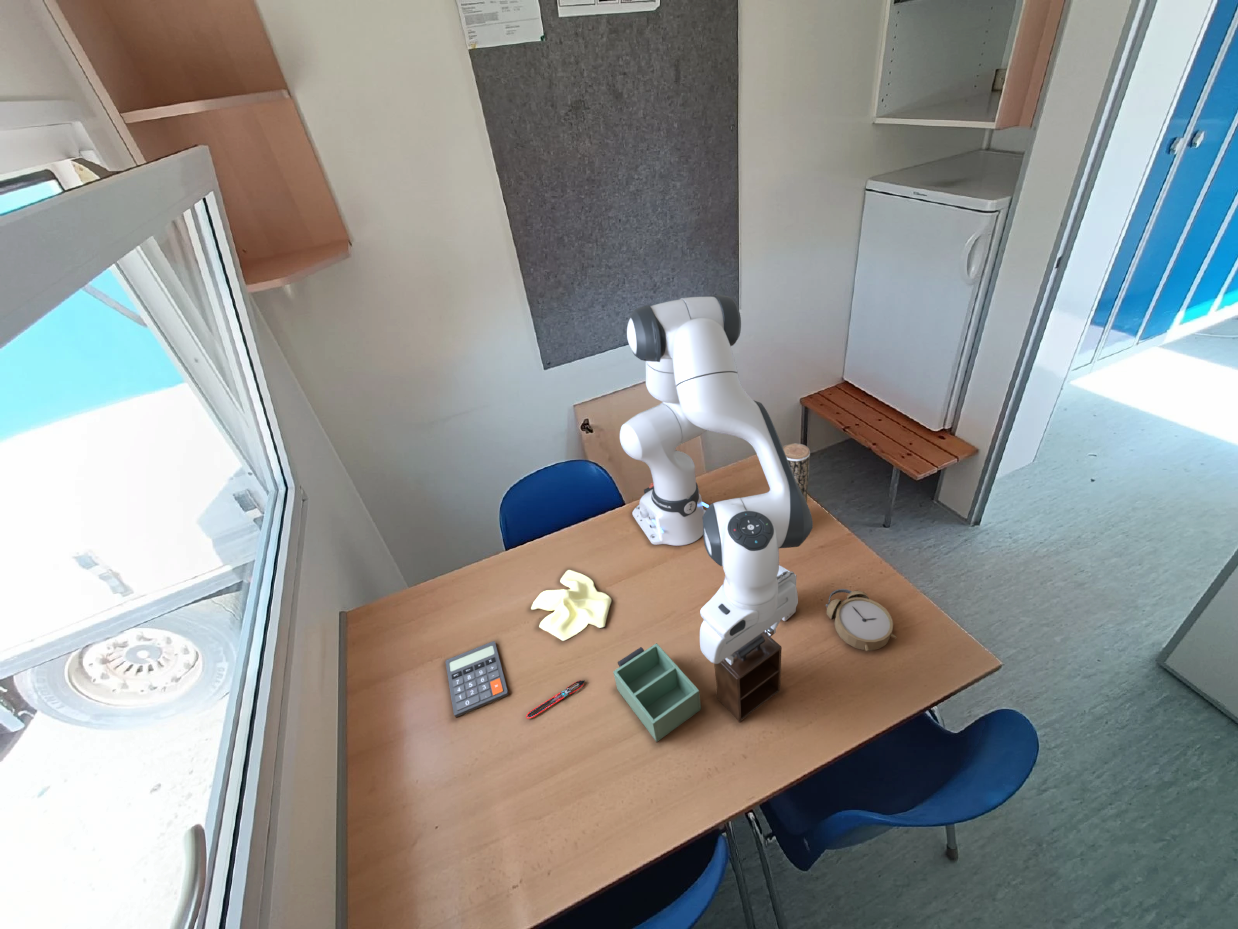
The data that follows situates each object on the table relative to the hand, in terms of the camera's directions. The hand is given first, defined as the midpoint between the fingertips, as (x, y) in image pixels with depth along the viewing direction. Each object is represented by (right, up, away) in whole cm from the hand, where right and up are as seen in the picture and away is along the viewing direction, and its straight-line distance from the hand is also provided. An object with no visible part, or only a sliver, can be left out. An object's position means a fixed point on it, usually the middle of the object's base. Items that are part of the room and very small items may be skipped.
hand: (750, 646), depth 103 cm
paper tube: (+22, +16, +46) cm, 54 cm away
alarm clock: (+28, -1, +20) cm, 34 cm away
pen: (-37, -16, +15) cm, 43 cm away
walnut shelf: (-1, -5, +7) cm, 9 cm away
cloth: (-36, -1, +36) cm, 51 cm away
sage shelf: (-17, -14, +13) cm, 25 cm away
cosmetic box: (+12, 0, +26) cm, 29 cm away
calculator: (-56, -14, +22) cm, 62 cm away
